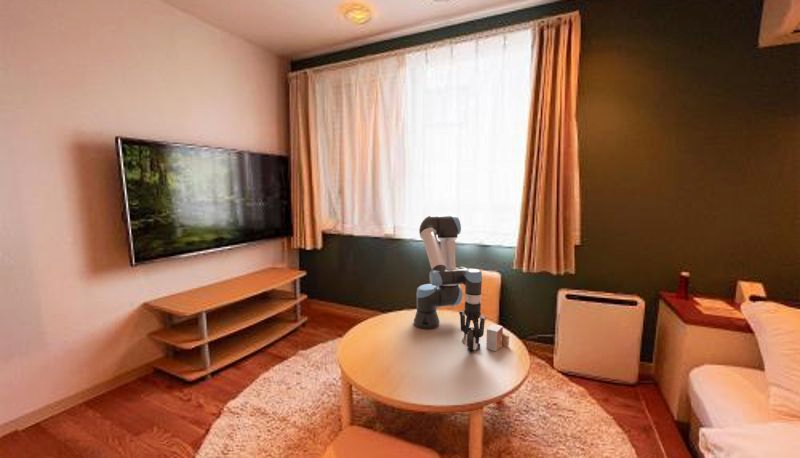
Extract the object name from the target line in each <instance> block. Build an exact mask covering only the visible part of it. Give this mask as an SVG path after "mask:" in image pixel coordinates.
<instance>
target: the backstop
mask: <svg viewBox="0 0 800 458" xmlns="http://www.w3.org/2000/svg"><path fill="white" fill-rule="evenodd" d="M509 345H510V335H509V334H507V333H505V332H503V335H502V346H503V347H505V348H509V347H510V346H509Z"/></svg>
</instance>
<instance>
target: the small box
mask: <svg viewBox="0 0 800 458" xmlns="http://www.w3.org/2000/svg"><path fill="white" fill-rule="evenodd" d="M503 331H504V326H502V325H498V324H495V323H492V324H491V325H490V326H489V327H488V328H486V344H485V345H486V349H488V350H490V351H493V352H494V351H495V352H498V350H500V348H501V347H502V346H503V345H502V335H503V333H504V332H503Z"/></svg>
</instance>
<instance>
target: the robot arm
mask: <svg viewBox="0 0 800 458" xmlns="http://www.w3.org/2000/svg"><path fill="white" fill-rule="evenodd" d="M461 230H462V225H461V221H460V219H459V217H458V216H457V215H455V214H438V215H437V214H434V215H429V216H427V217H425V218H424V219H423V220H422V222H421V223H420V226H419V230H418V231H419V236H420V239H421V240H423V245H424V247H425V251H426V254H427V258H428V261H429V266H430V268H431V270H430V271H429V273H428V274H429V275H428V277H429V283H426V284H425V283H424V284H422V285H420V286H418V287H417V288H416V313H415V316H414V318H413V325H414V326H415V327H416V328H418V329H422V330H432V329H437V328H438V327H439V326H440V318H439V315H438V313H437V308H439V307H440V308H441V307H450V306H451V307H453V306H458V305H460V304H461V302H462V299H463V289H462V286H461V285H464V287H465V288H464V289H465V290H464V291H465V292H464V301H465V302H464V310H461V311H459V312H458V313H459V317H460V319H459V321H460V331H461V332H463V333H464V334H463V338H464V339H465V340H466V341H465V344H464V345H465V348H468V328H470V327H471V326H470V325H471V323H472V324H473V328H474V331H475V336H474V343H473V350H475V351H476V349H477V345H478V343H479V340H480V338H482V337H483V336H484V333H485V323H486V320H487V317H486V316H483V315H482V314H481V310H482V309H481V307H482V303H481V302H482V286H483V285H482V284H483V283H482V281H483V273H482V271H481V270H480V269H478V268H468V267H465V266H460V267H458V268H456V267H457V264H456V241H457V238H458V235H460V234H461ZM438 240H439V241H440V244H439V241H438Z"/></svg>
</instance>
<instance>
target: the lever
mask: <svg viewBox="0 0 800 458" xmlns="http://www.w3.org/2000/svg"><path fill="white" fill-rule="evenodd" d="M474 336H475V331H474V326H472V327H471V326H469V328H468V347H467V351H468V353H469V354H474V353H475V352H476V350H477V351H478V350H479V351H480V350H481V342H480V341H481V340H480V339H479V343H478V345H477V349H476V350H473V343H474ZM465 341H466V340H465Z"/></svg>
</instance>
